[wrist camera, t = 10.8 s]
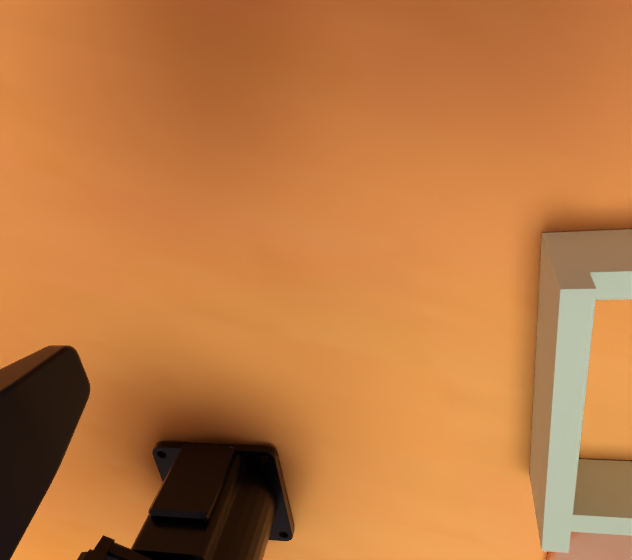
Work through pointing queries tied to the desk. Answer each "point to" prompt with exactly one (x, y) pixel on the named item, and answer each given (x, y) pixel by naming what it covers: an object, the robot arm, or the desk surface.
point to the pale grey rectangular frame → (574, 388)
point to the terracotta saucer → (596, 547)
